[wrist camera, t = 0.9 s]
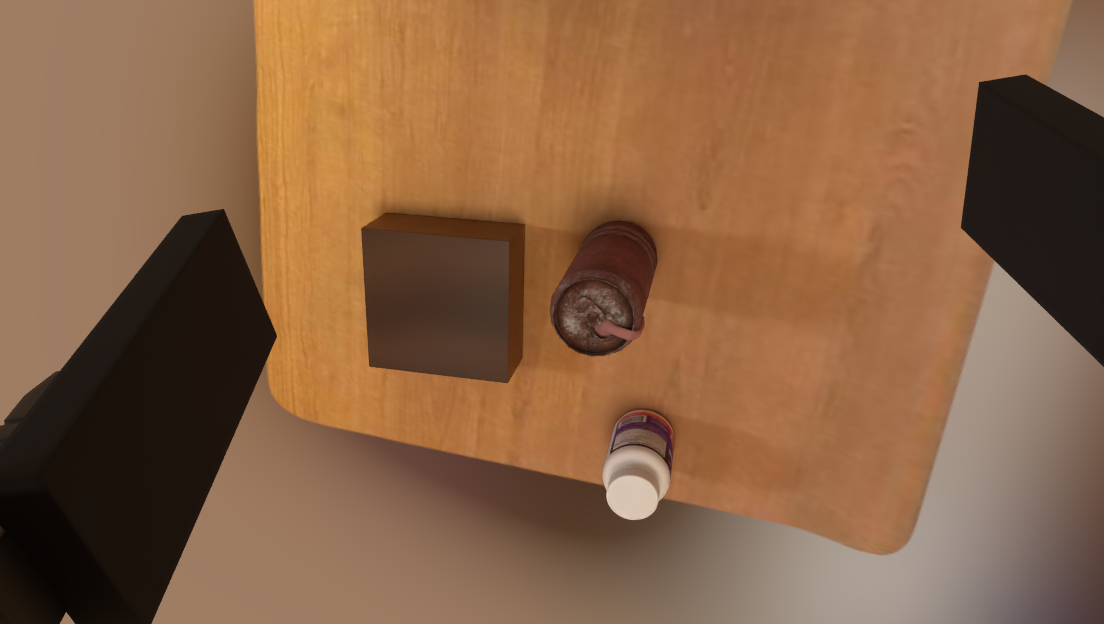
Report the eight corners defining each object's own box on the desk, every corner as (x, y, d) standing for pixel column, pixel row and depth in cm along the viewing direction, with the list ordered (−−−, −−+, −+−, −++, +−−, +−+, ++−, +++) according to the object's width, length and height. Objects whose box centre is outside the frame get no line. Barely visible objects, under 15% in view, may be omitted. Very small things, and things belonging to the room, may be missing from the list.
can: (650, 300, 66) (632, 373, 53) (575, 281, 67) (539, 348, 54) (669, 230, 64) (654, 288, 51) (591, 211, 64) (556, 263, 52)
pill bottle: (659, 471, 72) (649, 539, 63) (603, 446, 72) (586, 510, 63) (685, 423, 69) (679, 486, 61) (628, 397, 70) (613, 456, 61)
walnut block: (385, 212, 68) (361, 228, 64) (525, 224, 66) (509, 241, 61) (391, 343, 72) (368, 366, 68) (522, 358, 70) (508, 383, 66)
